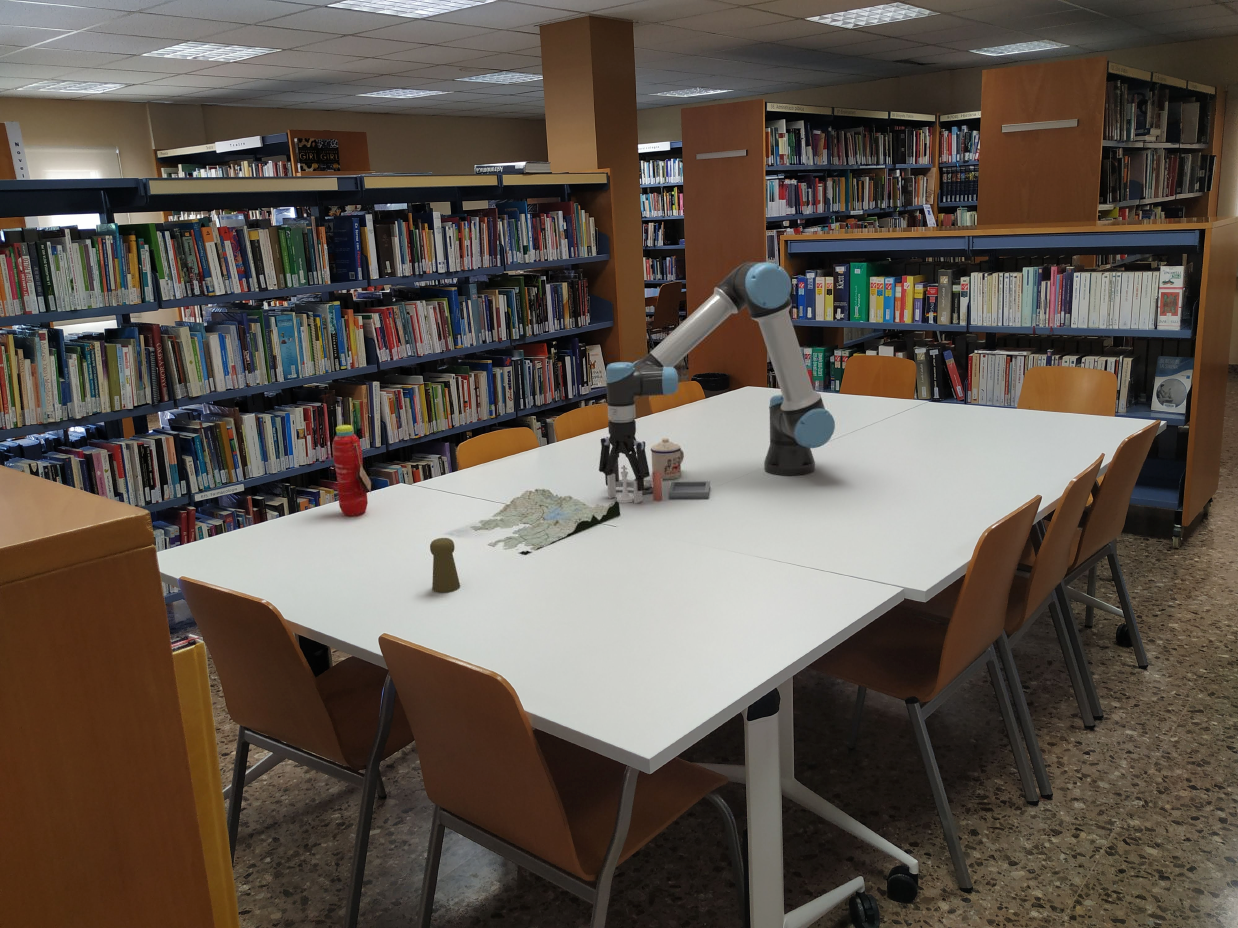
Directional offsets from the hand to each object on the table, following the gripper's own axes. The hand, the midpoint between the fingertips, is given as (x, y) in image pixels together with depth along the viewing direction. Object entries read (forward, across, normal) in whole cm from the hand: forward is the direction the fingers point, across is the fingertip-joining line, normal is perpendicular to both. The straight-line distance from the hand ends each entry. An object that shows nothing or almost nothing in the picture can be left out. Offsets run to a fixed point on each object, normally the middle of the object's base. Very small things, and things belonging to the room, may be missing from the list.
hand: (625, 499), depth 259 cm
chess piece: (0, 0, 0) cm, 0 cm away
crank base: (0, 0, +9) cm, 9 cm away
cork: (+1, +5, -71) cm, 71 cm away
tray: (0, +12, +14) cm, 19 cm away
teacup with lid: (0, -4, +28) cm, 28 cm away
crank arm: (-1, -4, +8) cm, 9 cm away
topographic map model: (+1, -8, -29) cm, 30 cm away
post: (0, +8, +5) cm, 9 cm away
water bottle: (+1, -58, -46) cm, 74 cm away
